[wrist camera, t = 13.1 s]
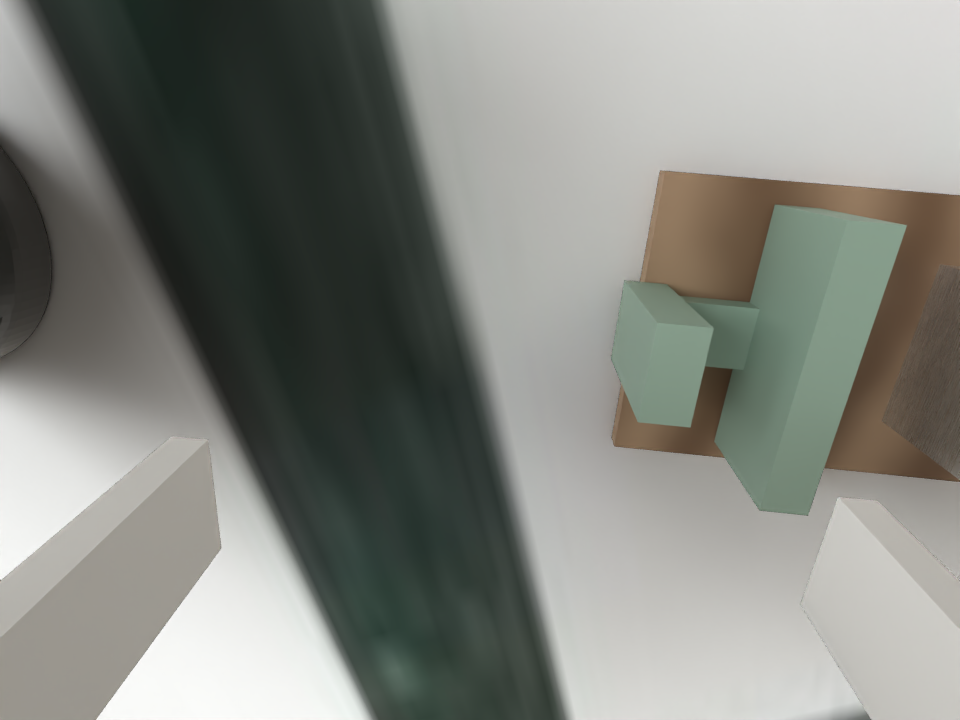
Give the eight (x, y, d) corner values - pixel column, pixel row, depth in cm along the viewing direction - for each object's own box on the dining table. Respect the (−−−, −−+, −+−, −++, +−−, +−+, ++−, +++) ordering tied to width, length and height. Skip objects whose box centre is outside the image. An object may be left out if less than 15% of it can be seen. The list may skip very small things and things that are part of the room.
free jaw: (598, 429, 29) (620, 509, 23) (639, 192, 25) (680, 208, 19) (752, 445, 29) (819, 530, 23) (820, 208, 25) (926, 228, 18)
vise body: (611, 437, 31) (639, 529, 23) (659, 170, 26) (715, 179, 18) (1023, 479, 30) (1189, 588, 23) (1155, 211, 25) (1424, 237, 18)
